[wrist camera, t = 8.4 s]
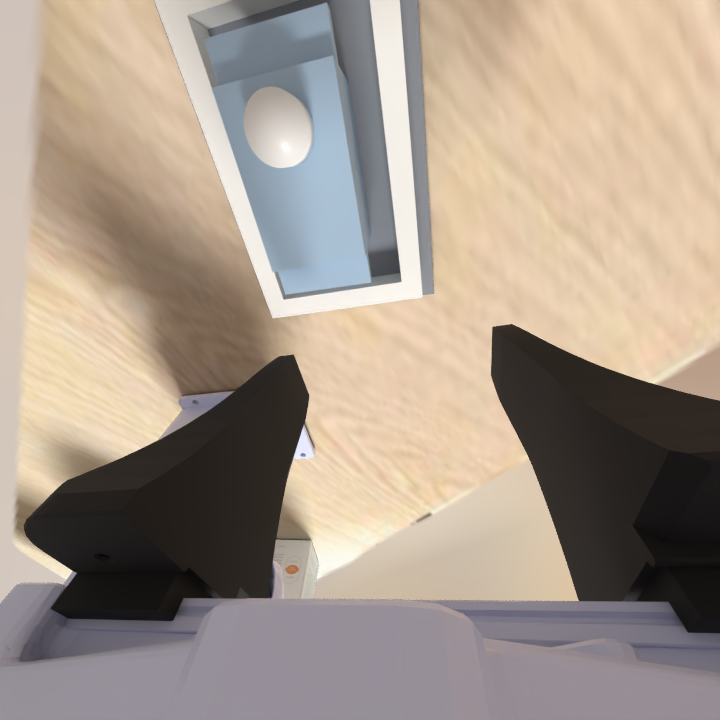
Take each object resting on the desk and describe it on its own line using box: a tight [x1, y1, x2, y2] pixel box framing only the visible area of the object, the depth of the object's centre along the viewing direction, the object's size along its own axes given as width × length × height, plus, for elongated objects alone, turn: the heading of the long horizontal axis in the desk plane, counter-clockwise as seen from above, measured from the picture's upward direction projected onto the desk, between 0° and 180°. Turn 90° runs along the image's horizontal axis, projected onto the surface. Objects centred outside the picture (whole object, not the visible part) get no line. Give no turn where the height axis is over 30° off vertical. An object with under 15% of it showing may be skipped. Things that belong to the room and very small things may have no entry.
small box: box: [273, 539, 319, 599], centre depth 33 cm, size 8×6×13 cm
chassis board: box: [154, 0, 434, 318], centre depth 14 cm, size 10×14×2 cm
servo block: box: [204, 3, 372, 295], centre depth 13 cm, size 4×8×6 cm, turn 10°
